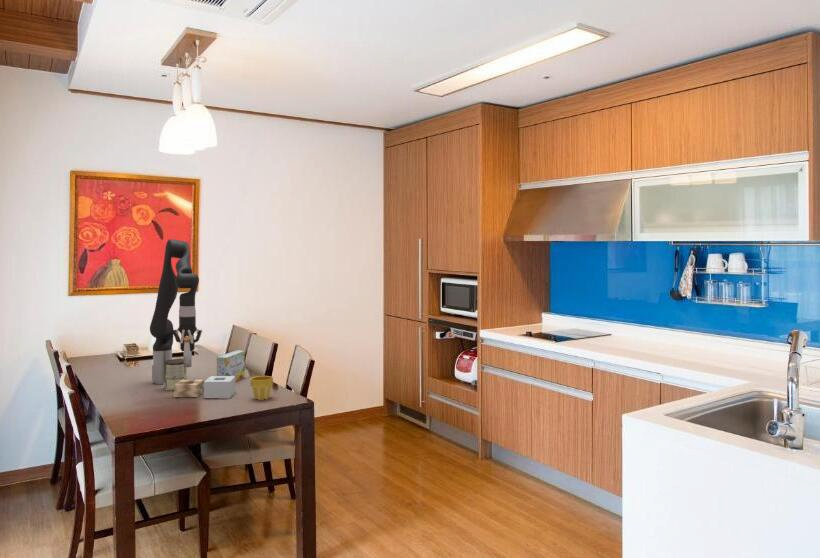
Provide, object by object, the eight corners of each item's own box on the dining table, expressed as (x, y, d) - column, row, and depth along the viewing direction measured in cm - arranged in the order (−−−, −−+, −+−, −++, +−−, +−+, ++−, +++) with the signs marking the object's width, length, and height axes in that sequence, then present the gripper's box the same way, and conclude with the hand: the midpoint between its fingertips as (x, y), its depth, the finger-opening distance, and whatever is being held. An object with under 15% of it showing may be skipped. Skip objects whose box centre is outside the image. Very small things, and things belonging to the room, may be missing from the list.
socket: (204, 398, 290) (203, 381, 290) (210, 392, 302) (210, 376, 302) (230, 398, 291) (229, 381, 290) (235, 392, 303) (235, 375, 302)
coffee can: (162, 388, 310) (161, 360, 309) (181, 385, 317) (181, 358, 316) (170, 392, 302) (170, 363, 302) (190, 388, 310) (190, 360, 309)
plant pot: (254, 395, 296) (253, 375, 296) (275, 395, 296) (275, 375, 295) (247, 401, 286) (247, 380, 285) (270, 401, 286) (269, 380, 285)
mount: (174, 397, 292) (173, 385, 291) (181, 392, 303) (180, 380, 302) (197, 397, 292) (197, 384, 292) (204, 391, 303) (203, 379, 303)
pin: (181, 367, 294) (181, 337, 293) (184, 365, 298) (184, 336, 297) (190, 367, 294) (190, 338, 293) (193, 365, 299) (193, 336, 298)
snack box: (226, 386, 314) (225, 357, 313) (216, 386, 315) (215, 356, 315) (245, 377, 335) (245, 350, 334) (235, 377, 336) (235, 349, 335)
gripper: (169, 316, 291) (169, 352, 292) (200, 316, 291) (200, 352, 292) (174, 314, 298) (175, 349, 299) (204, 314, 299) (204, 349, 300)
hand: (187, 350), depth 296 cm, fingers closed on pin, 3 cm apart
